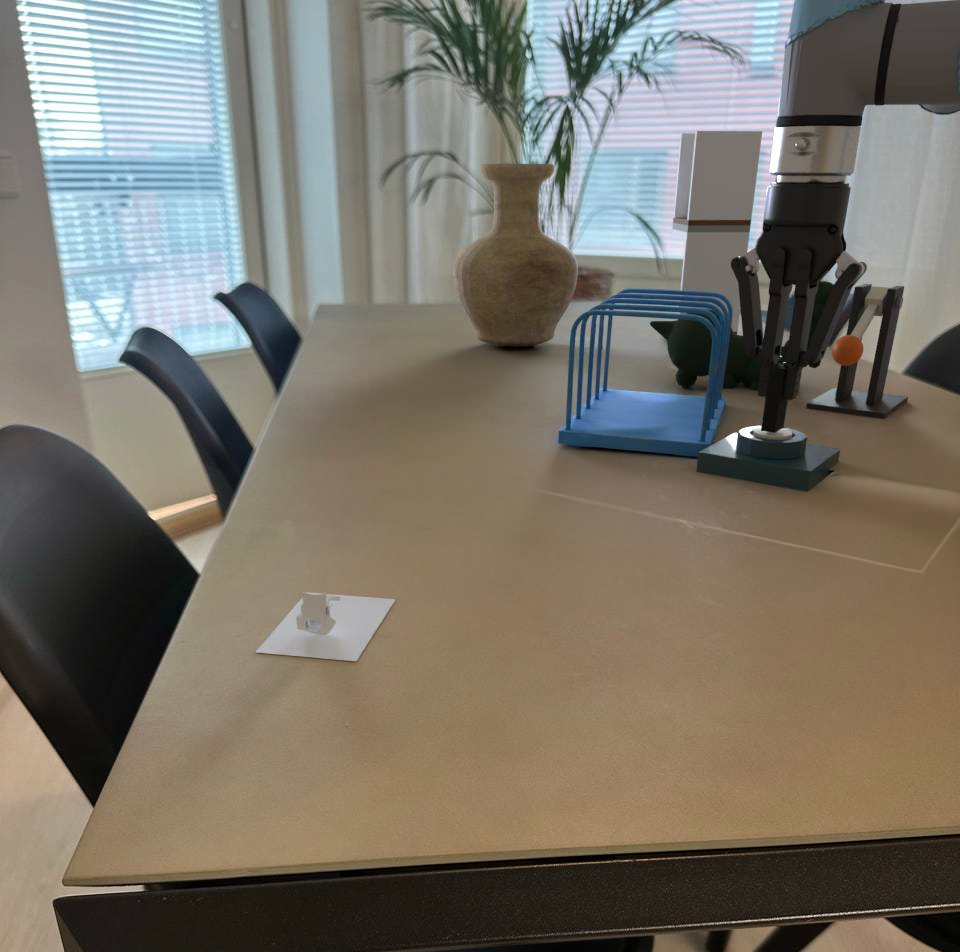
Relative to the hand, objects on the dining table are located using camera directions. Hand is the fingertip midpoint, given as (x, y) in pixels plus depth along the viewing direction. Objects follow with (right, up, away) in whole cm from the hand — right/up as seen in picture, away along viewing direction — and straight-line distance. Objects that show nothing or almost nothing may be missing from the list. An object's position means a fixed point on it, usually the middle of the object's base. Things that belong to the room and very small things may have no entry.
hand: (772, 428), depth 96 cm
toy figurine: (+6, +15, +39) cm, 42 cm away
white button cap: (0, -2, +1) cm, 2 cm away
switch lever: (+17, +16, +19) cm, 30 cm away
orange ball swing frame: (+20, +9, +27) cm, 34 cm away
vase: (-25, +33, +74) cm, 84 cm away
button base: (0, -4, +2) cm, 5 cm away
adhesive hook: (-42, -21, -31) cm, 56 cm away
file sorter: (-10, +4, +18) cm, 21 cm away
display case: (+12, +36, +80) cm, 89 cm away
